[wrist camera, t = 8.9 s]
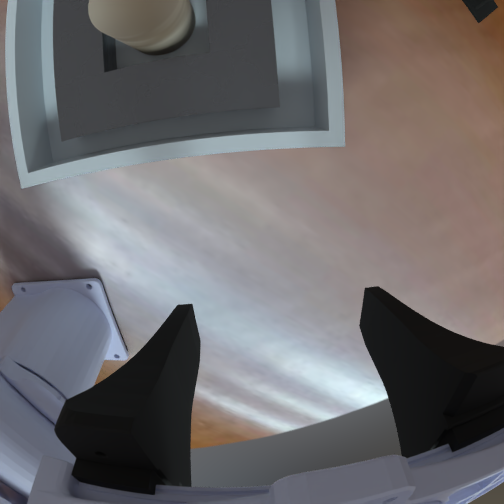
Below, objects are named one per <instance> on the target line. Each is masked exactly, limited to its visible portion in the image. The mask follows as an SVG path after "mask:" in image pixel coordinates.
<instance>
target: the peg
mask: <svg viewBox="0 0 504 504" xmlns="http://www.w3.org/2000/svg"><path fill="white" fill-rule="evenodd" d="M88 13H89V17H90V20H91V22H92V24H93V25H94V26H95V27H96V28H97V29H98V30H99V31H101V32H102V33H104V34H106V35H109V36H111V37H113V38H115V39H117V40H119V41H121V42H123V43H125V44H126V45H128V46H130V47H132V48H134V49H136V50H138V51H140V52H142V53H144V54H148V55H164V54H168V53H170V52H173V51H175V50H177V49H178V48H180V47H181V46H182V45H184V44H185V43H186V42H187V41H188V39H189V38H190V37H191V35H192V33H193V31H194V28H195V23H196V17H195V12H194V10H193V8H192V6H191V3H190V1H189V0H89V4H88Z"/></svg>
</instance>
